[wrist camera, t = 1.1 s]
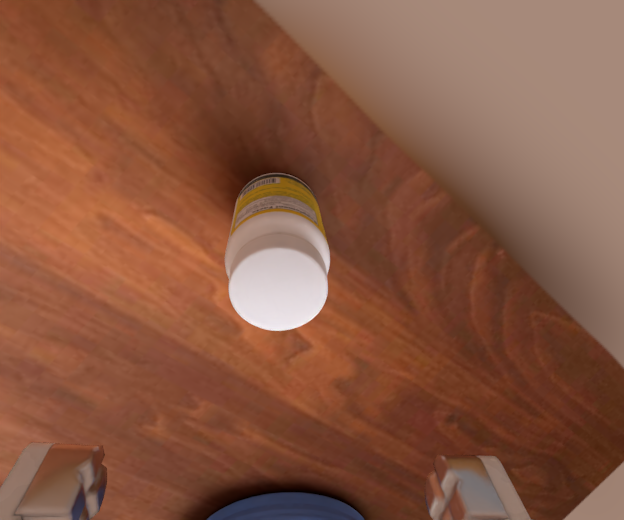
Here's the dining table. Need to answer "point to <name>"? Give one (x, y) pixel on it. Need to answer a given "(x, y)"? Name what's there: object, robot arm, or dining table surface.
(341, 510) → the bowl
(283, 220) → the supplement bottle
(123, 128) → the dining table surface
